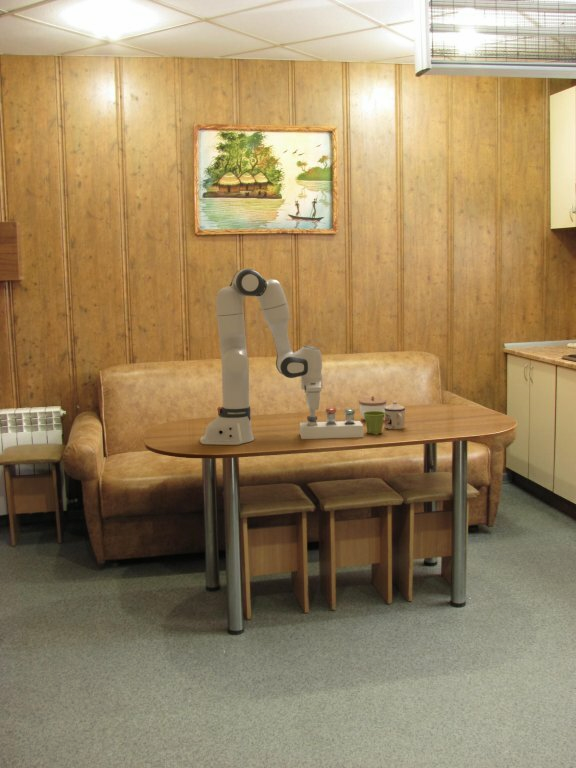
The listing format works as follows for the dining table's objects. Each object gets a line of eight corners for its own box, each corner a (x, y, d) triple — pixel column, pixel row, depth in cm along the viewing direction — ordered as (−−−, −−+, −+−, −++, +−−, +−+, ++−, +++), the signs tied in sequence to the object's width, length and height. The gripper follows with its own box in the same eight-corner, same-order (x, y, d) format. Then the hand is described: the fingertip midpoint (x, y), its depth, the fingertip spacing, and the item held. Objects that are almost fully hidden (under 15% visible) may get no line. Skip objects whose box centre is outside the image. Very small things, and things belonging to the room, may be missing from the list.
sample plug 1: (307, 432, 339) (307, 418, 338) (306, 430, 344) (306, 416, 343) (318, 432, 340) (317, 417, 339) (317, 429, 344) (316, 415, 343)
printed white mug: (381, 426, 360) (381, 400, 358) (399, 424, 362) (400, 399, 360) (391, 431, 348) (391, 405, 346) (411, 430, 351) (411, 403, 349)
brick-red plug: (326, 424, 339) (326, 410, 338) (325, 422, 344) (325, 408, 343) (336, 424, 340) (336, 409, 339) (335, 422, 344) (335, 407, 343)
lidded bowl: (362, 423, 367) (362, 399, 366) (356, 417, 380) (356, 394, 378) (389, 422, 369) (389, 398, 367) (382, 416, 381) (382, 393, 380)
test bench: (301, 439, 337) (301, 427, 336) (299, 434, 347) (299, 422, 346) (363, 437, 338) (363, 425, 338) (359, 432, 348) (359, 420, 347)
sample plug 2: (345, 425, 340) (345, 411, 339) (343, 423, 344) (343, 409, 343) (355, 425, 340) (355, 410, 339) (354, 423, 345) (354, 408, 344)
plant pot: (368, 435, 341) (368, 415, 339) (360, 431, 350) (359, 411, 348) (388, 434, 343) (388, 414, 342) (380, 429, 352) (380, 410, 351)
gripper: (302, 381, 349) (303, 412, 351) (306, 388, 329) (306, 421, 331) (316, 380, 349) (317, 412, 351) (321, 388, 329) (322, 421, 331)
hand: (312, 416), depth 341 cm, fingers closed, pressing on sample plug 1
